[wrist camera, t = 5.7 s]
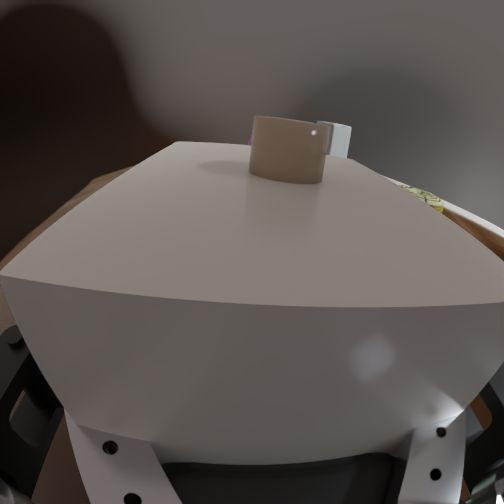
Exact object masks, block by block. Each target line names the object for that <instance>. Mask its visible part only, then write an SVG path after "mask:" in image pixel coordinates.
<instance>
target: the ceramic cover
mask: <svg viewBox="0 0 504 504" xmlns="http://www.w3.org/2000/svg"><path fill="white" fill-rule="evenodd" d="M330 127H331V126H327V125H322V124H316V123H311V122H305V121H298V120H291V119H284V118H276V117H267V116H254V123H253V132H252V142H251V146H249V145H237V144H223V143H205V142H175V143H174V144H172V145H170V146H168V147H167V148H165V149H163V150H161V151H160V152H158V153H156V154H154V155H153V156H151V157H149V158H148V159H146V160H144V161H143V162H141V163H139V164H138V165H136V166H135V167H133V168H131V169H130V170H128V171H127V172H125V173H123V174H122V175H120V176H119V177H117V178H116V179H114V180H113V181H111V182H110V183H108V184H107V185H105V186H104V187H102V188H101V189H100V190H98V191H97V192H95V193H94V194H92V195H91V196H90V197H88V198H87V199H85V200H84V201H83V202H81V203H80V204H79V205H77V206H76V207H75V208H73V209H72V210H71V211H69V212H68V213H67V214H65V215H64V216H63V217H62V218H60V219H59V220H58V221H56V222H55V223H54V224H53V225H52V226H50V227H49V228H48V229H47V230H45V231H44V232H43V233H42V234H41V235H39V236H38V237H37V238H36V239H35V240H34V241H32V242H31V243H30V244H29V245H28V246H27V247H26V248H24V249H23V250H22V251H21V252H20V253H19V254H18V255H17V256H16V257H15V258H14V259H12V260H11V261H10V262H9V263H8V264H7V265H6V266H5V267H4V268H3V269H2V270H1V271H0V284H1V287H2V289H3V292H4V295H5V297H6V300H7V302H8V305H9V307H10V310H11V312H12V314H13V317H14V319H15V321H16V324H17V326H18V328H19V330H20V332H21V334H22V336H23V338H24V340H25V342H26V344H27V346H28V348H29V350H30V352H31V354H32V356H33V358H34V360H35V361H36V363H37V365H38V367H39V369H40V370H41V372H42V374H43V375H44V377H45V379H46V380H47V382H48V384H49V385H50V387H51V389H52V390H53V392H54V393H55V395H56V396H57V398H58V399H59V401H60V402H61V404H62V405H63V407H64V408H65V410H66V411H67V412H68V414H69V415H70V417H71V418H72V419H73V421H74V422H75V423H76V424H78V425H82V426H85V427H88V428H92V429H96V430H99V431H103V432H107V433H111V434H116V435H120V436H124V437H129V438H134V439H139V440H145V441H149V442H150V444H151V446H152V448H153V450H154V452H155V454H156V456H157V458H158V460H159V462H160V464H161V465H162V464H165V463H171V462H199V463H212V464H232V465H269V464H290V463H303V462H313V461H322V460H329V459H336V458H343V457H349V456H355V455H360V454H365V453H370V452H371V453H376V452H382V453H386V454H390V455H392V456H395V457H397V456H398V452H399V447H400V443H401V441H402V440H403V439H404V438H405V437H406V436H407V435H408V434H409V433H410V432H411V431H412V430H413V429H415V428H419V427H422V426H425V425H429V424H432V423H435V422H438V421H441V420H444V419H447V418H450V417H453V416H456V415H458V414H460V413H461V412H462V411H463V410H464V409H465V408H466V407H467V406H468V405H469V404H470V403H471V401H472V400H473V399H474V398H475V397H476V396H477V395H478V394H479V392H480V391H481V390H482V389H483V388H484V386H485V385H486V384H487V383H488V381H489V380H490V379H491V378H492V376H493V375H494V374H495V373H496V371H497V370H498V369H499V367H500V366H501V365H502V363H503V362H504V262H503V261H502V260H501V259H500V258H499V257H498V256H496V255H495V254H494V253H493V252H492V251H490V250H489V249H488V248H487V247H486V246H484V245H483V244H482V243H480V242H479V241H478V240H477V239H475V238H474V237H473V236H471V235H470V234H469V233H468V232H466V231H465V230H464V229H462V228H461V227H460V226H458V225H457V224H455V223H454V222H453V221H451V220H450V219H448V218H447V217H446V216H444V215H443V214H441V213H440V212H438V211H437V210H435V209H434V208H432V207H431V206H429V205H428V204H426V203H425V202H423V201H422V200H420V199H419V198H417V197H416V196H414V195H413V194H411V193H409V192H408V191H406V190H405V189H403V188H401V187H400V186H398V185H396V184H395V183H393V182H391V181H390V180H388V179H386V178H384V177H383V176H381V175H379V174H377V173H376V172H374V171H372V170H370V169H368V168H367V167H365V166H363V165H361V164H359V163H358V162H356V161H354V160H352V159H347V158H341V157H336V156H330V155H326V153H327V147H328V140H329V134H330Z"/></svg>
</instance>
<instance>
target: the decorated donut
mask: <svg viewBox="0 0 504 504" xmlns="http://www.w3.org/2000/svg"><path fill="white" fill-rule="evenodd" d="M398 186H400V187H401V188H403V189H405V190H406V191H408V192H409V193H411V194H413V195H414V196H416V197H417V198H419V199H420V200H422V201H423V202H425V203H426V204H428V205H429V206H431V207H432V208H434V209H435V210H437V211H438V212H440V213H441V212H442V210H443V205H444V204H443V202H442V201H441V200H440V199H439V198H438V197H436V196H435V195H433V194H431V193H429V192H426V191H423V190H421V189H417V188H413V187H408V186H404V185H398Z"/></svg>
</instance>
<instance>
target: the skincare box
mask: <svg viewBox="0 0 504 504" xmlns="http://www.w3.org/2000/svg"><path fill="white" fill-rule="evenodd" d="M317 124H322V125H327V126H331V127H330V134H329V140H328V147H327V153H326V155H330V156H336V157H341V158H347V152H348V146H349V141H350V134H351V127H349V126H345V125H341V124H336V123H329V122H323V121H317Z"/></svg>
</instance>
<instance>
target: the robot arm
mask: <svg viewBox="0 0 504 504" xmlns="http://www.w3.org/2000/svg"><path fill="white" fill-rule="evenodd" d="M22 390H24V392H25V395H24V396H23V398H22V400H21V402H20V404H19V406H18V408H17V410H16V411H15V413H14V415H13V417H12V419H11V421H10V422H9V417H10V413H11V410H12V409H13V407H14V405H15V403H16V401H17V399H18V397H19V396H20V394H21V392H22ZM479 393H480V395H481V397H482V398H483V400H484V402H485V403H486V405H487V407H488V408H489V410H490V412H491V414H492V423H491V425H490V426H489V427H488V428H487V429H486V430H485V431H484V430H483V429H482V427H481V425H480V423H479V421H478V419H477V418H476V416H475V414H474V412H473V411H472V409H471V407H470V405H468V406H467V407H466V408H465V409H464V410H463V411H462V412H461V413H460V414H458V415H456V416H453V417H450V418H447V419H444V420H441V421H438V422H435V423H432V424H429V425H425V426H422V427H419V428H415V429H413V430H412V431H411V432H410V433H409V434H408V435H407V436H406V437H405V438H404V439H403V440H402V441H401V443H400V447H399V452H398V456H397V457H395V456H392V455H390V454H386V453H382V452H376V453H371V452H370V453H365V454H360V455H355V456H349V457H343V458H336V459H329V460H322V461H313V462H303V463H290V464H269V465H232V464H212V463H199V462H171V463H165V464H162V465H161V464H160V462H159V460H158V458H157V456H156V454H155V452H154V450H153V448H152V446H151V444H150V442H149V441H145V440H139V439H134V438H129V437H124V436H120V435H116V434H111V433H107V432H103V431H99V430H96V429H92V428H88V427H85V426H82V425H78V424H76V423H75V422H74V421H73V419H72V418H71V417H70V415H69V414H68V412H67V411H66V410H65V408H64V407H63V405H62V404H61V402H60V401H59V399H58V398H57V396H56V395H55V393H54V392H53V390H52V389H51V387H50V385H49V384H48V382H47V380H46V379H45V377H44V375H43V374H42V372H41V370H40V369H39V367H38V365H37V363H36V361H35V360H34V358H33V356H32V354H31V352H30V350H29V348H28V346H27V344H26V342H25V340H24V338H23V336H22V334H21V332H20V330H19V328H18V326H17V325H14V326H12V327H10V328H8V329H7V330H5V331H4V332H3V333H2V334H1V336H0V504H33V503H32V501H31V498H32V495H33V492H34V489H35V486H36V483H37V480H38V477H39V474H40V471H41V468H42V466H43V463H44V460H45V458H46V455H47V453H48V450H49V448H50V445H51V443H52V440H53V438H54V435H55V433H56V431H57V428H58V426H59V424H60V421H61V419H62V417H63V414H64V412H65V417H66V422H67V427H68V431H69V436H70V440H71V444H72V447H73V451H74V455H75V458H76V462H77V465H78V468H79V472H80V475H81V478H82V481H83V484H84V486H85V489H86V492H87V495H88V497H89V500H90V503H91V504H504V364H503V363H502V365H501V366H500V367H499V369H498V370H497V371H496V373H495V374H494V375H493V376H492V378H491V379H490V380H489V381H488V383H487V384H486V385H485V386H484V388H483V389H482V390H481V391H480V392H479ZM462 477H464V480H465V482H466V484H467V487H468V489H469V492H470V494H471V497H469V498H468V499H467V500H466V501H465V502H464V501H462V500H461V499H459V498H460V491H461V485H462Z"/></svg>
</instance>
